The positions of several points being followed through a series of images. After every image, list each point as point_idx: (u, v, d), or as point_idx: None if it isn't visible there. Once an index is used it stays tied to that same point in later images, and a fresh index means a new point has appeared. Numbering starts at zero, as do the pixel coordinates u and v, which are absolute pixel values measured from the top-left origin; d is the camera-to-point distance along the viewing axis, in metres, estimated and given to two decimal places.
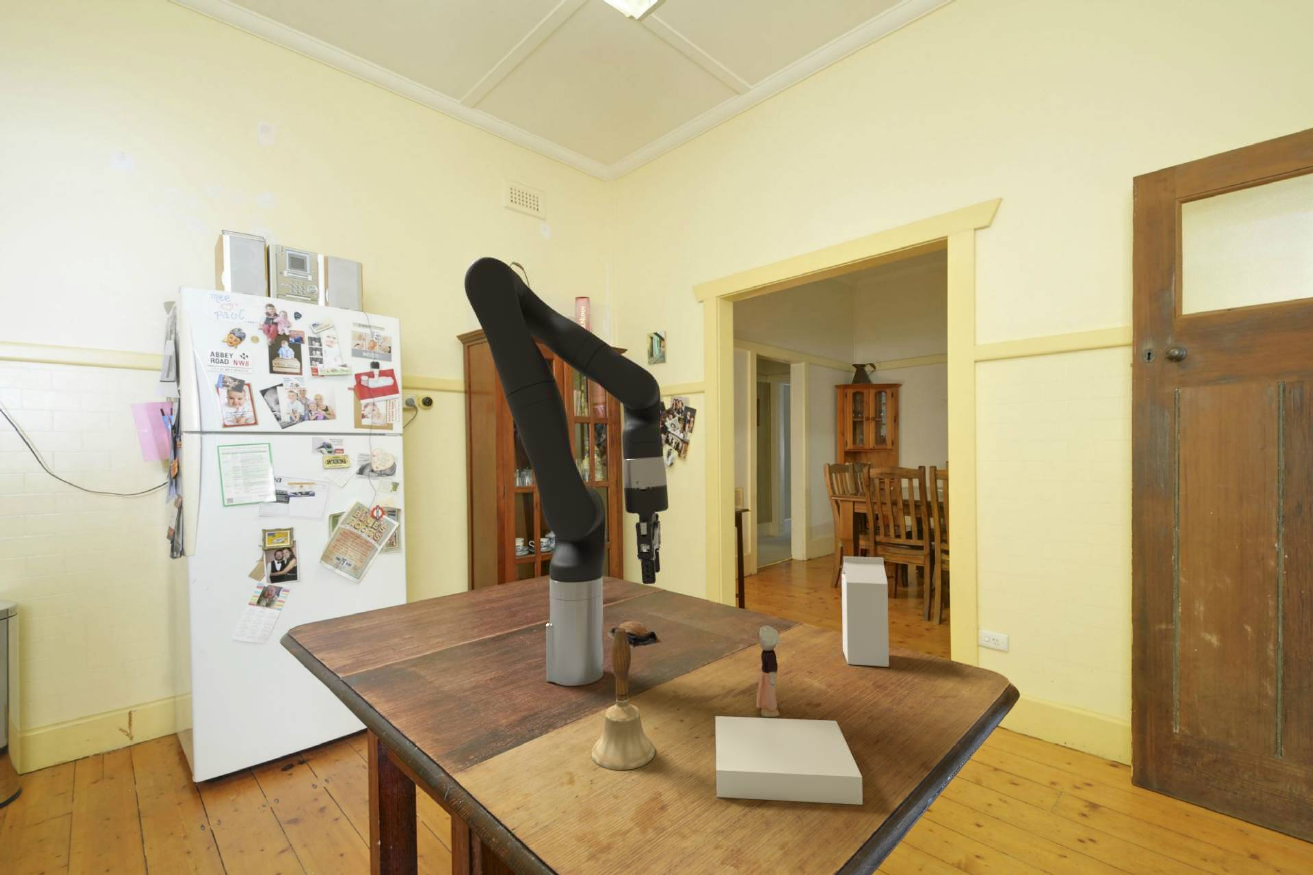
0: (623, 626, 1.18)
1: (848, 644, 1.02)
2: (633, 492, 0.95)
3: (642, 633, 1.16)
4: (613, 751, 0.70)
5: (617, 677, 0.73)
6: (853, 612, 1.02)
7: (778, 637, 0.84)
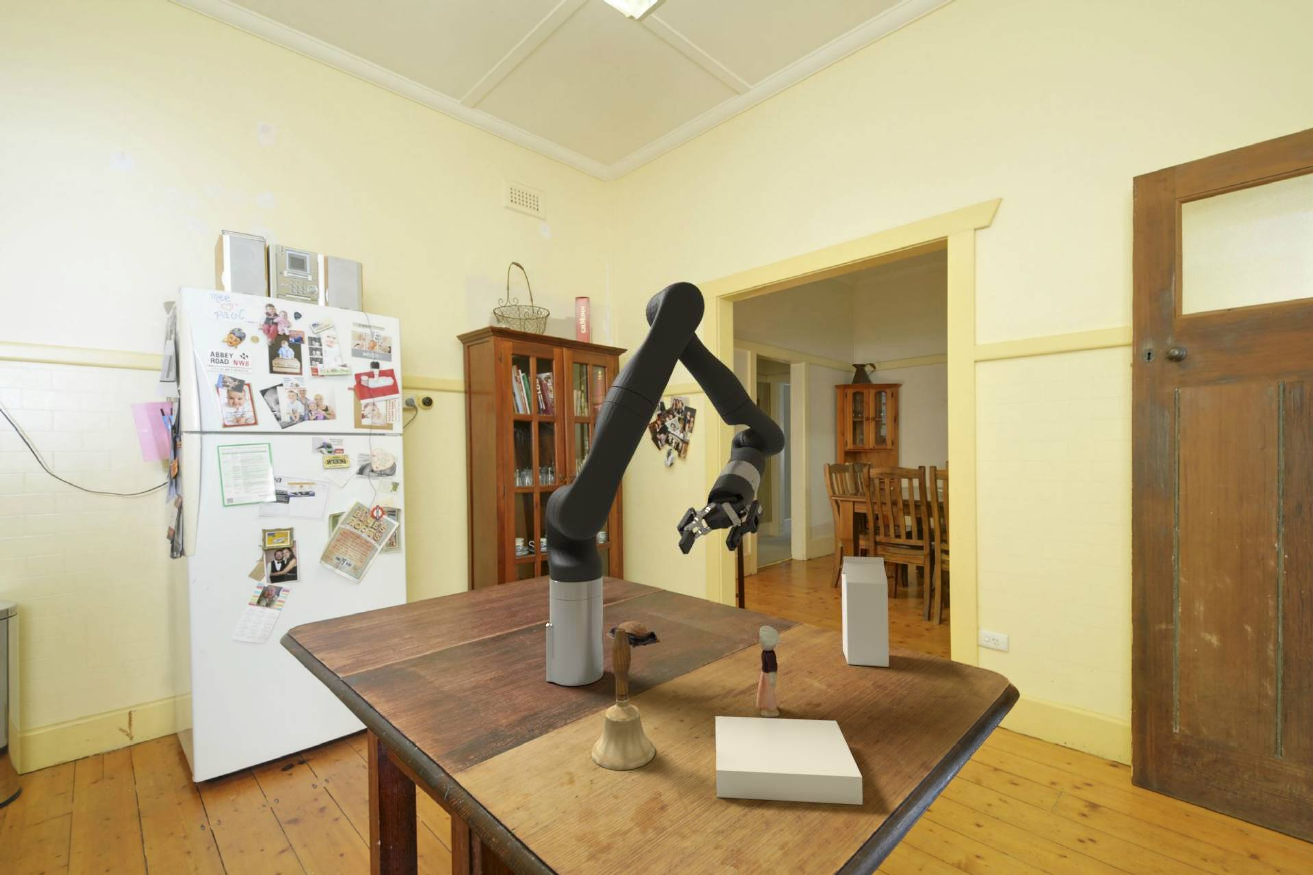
0: (622, 626, 1.18)
1: (848, 644, 1.02)
2: (746, 483, 0.99)
3: (642, 633, 1.16)
4: (613, 751, 0.70)
5: (617, 677, 0.73)
6: (853, 612, 1.02)
7: (778, 637, 0.84)
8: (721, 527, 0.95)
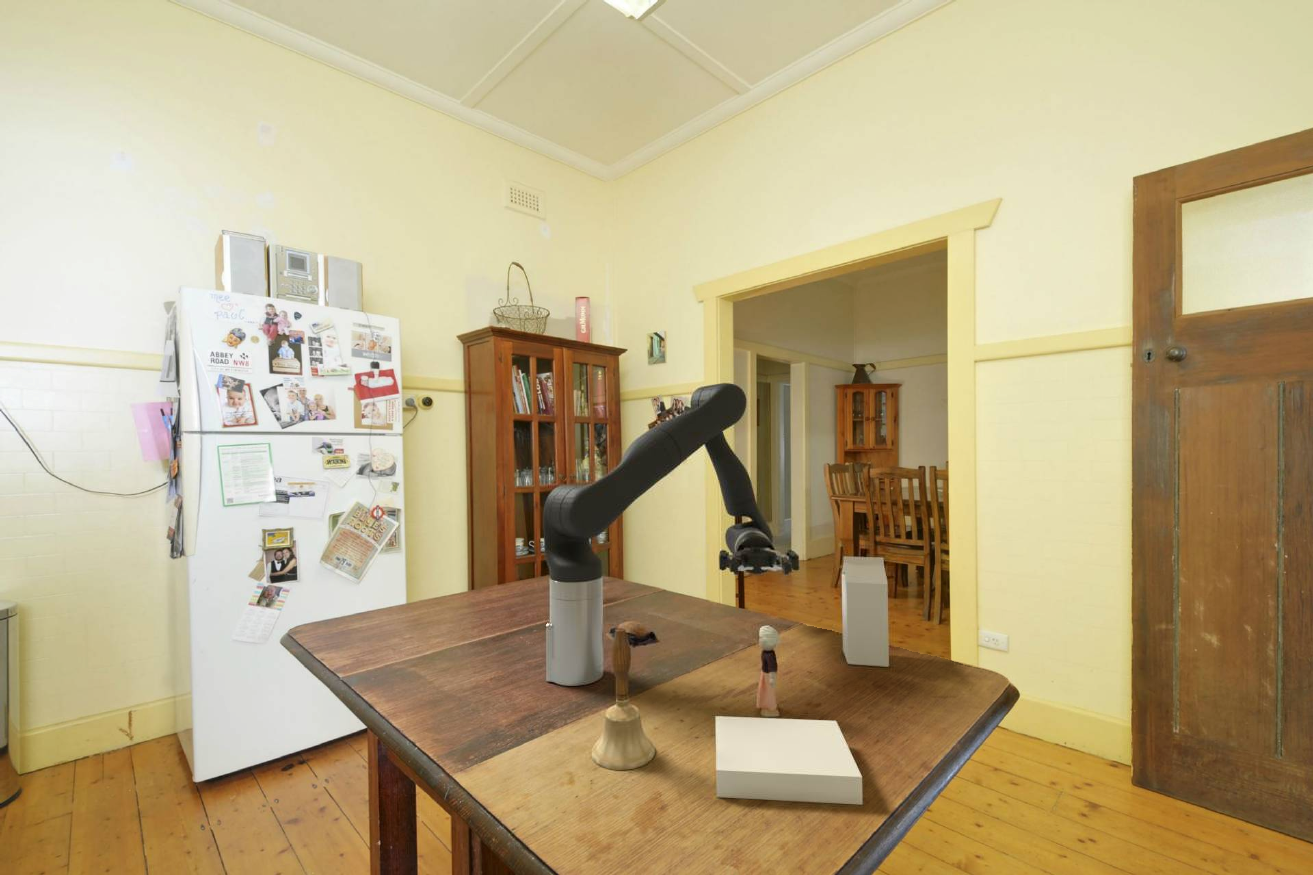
0: (622, 626, 1.18)
1: (848, 644, 1.02)
2: None
3: (641, 633, 1.16)
4: (613, 751, 0.70)
5: (617, 677, 0.73)
6: (853, 612, 1.02)
7: (778, 637, 0.84)
8: (760, 565, 1.03)
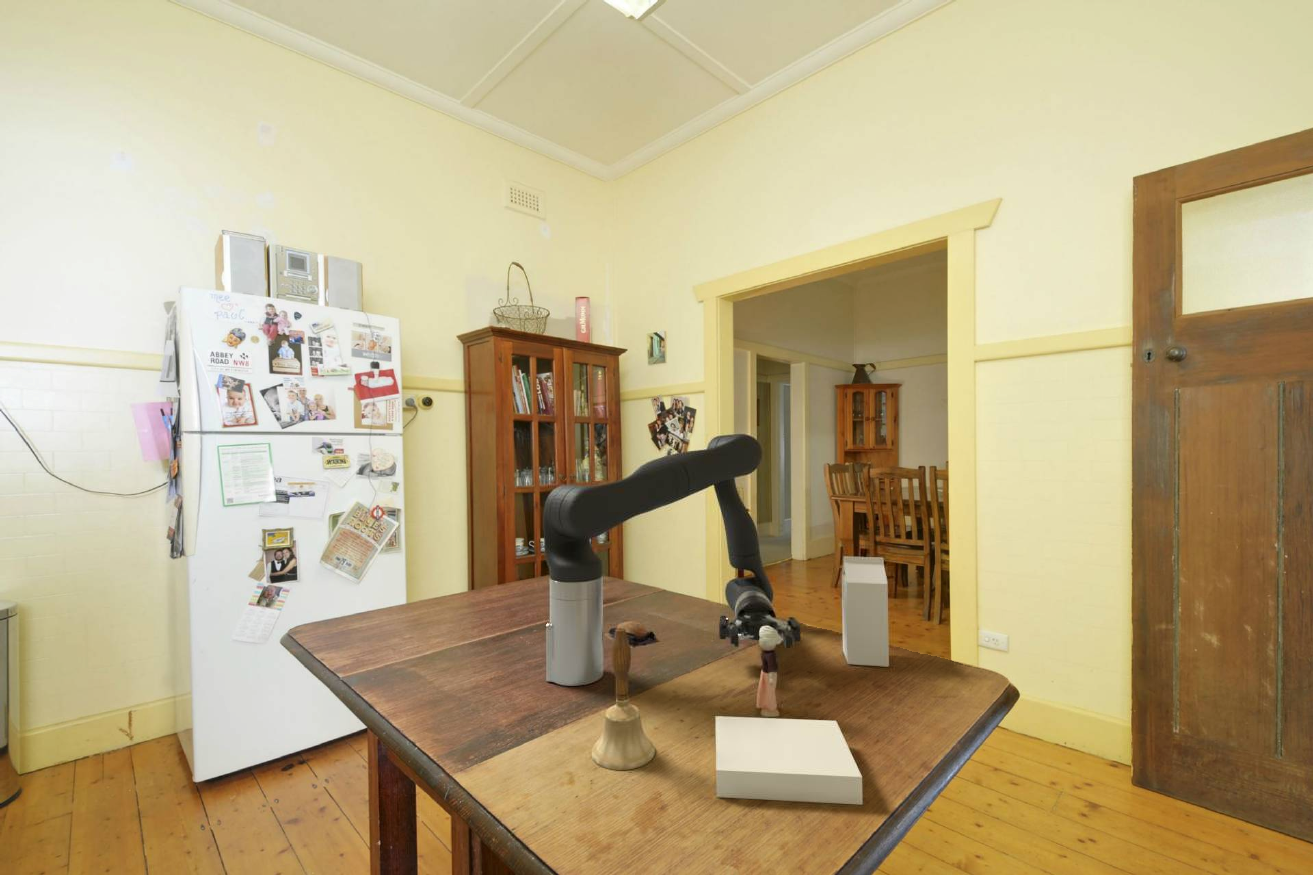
0: (621, 626, 1.18)
1: (848, 644, 1.02)
2: (772, 607, 1.09)
3: (641, 633, 1.16)
4: (613, 751, 0.70)
5: (617, 677, 0.73)
6: (853, 612, 1.02)
7: (778, 637, 0.84)
8: None
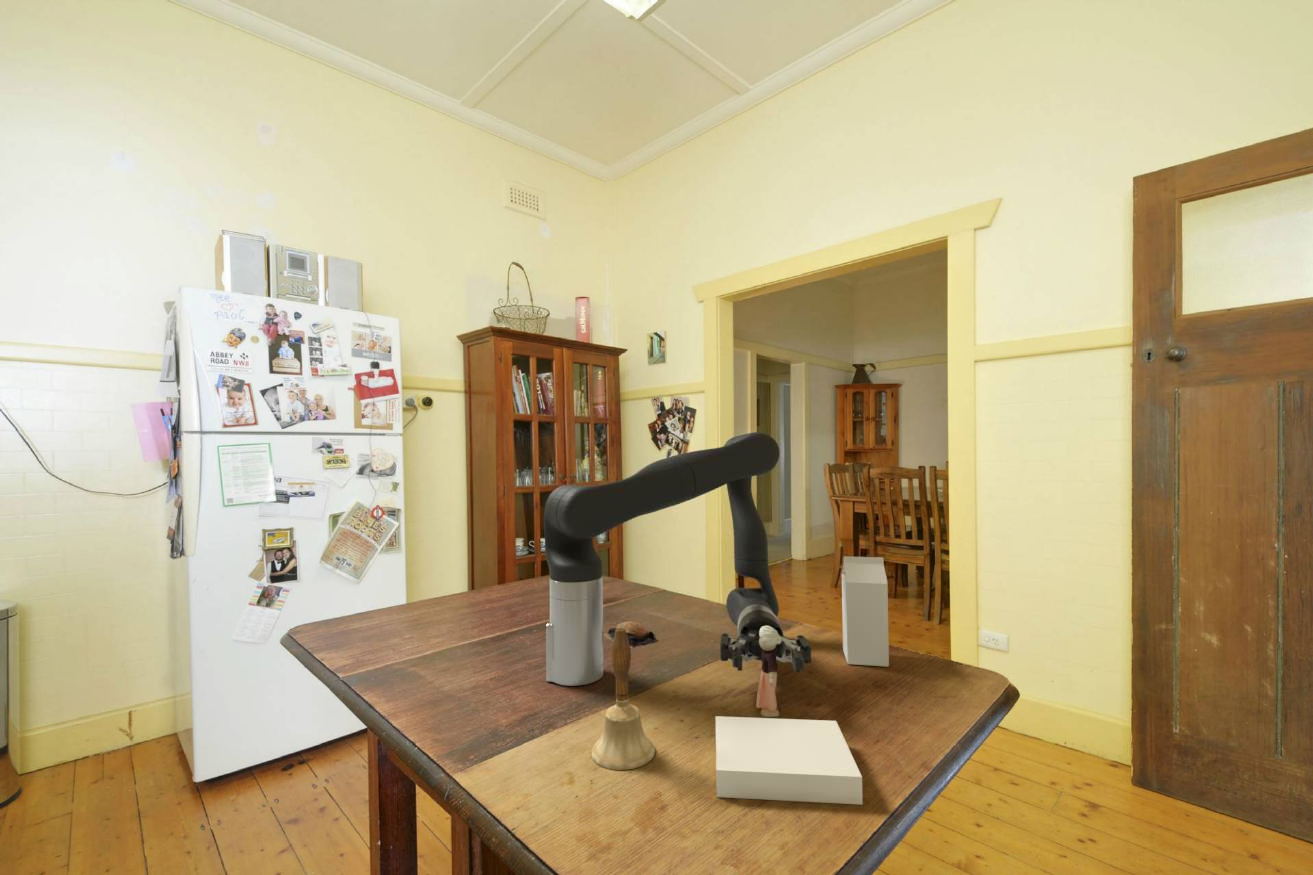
0: (620, 626, 1.18)
1: (848, 644, 1.02)
2: (778, 623, 0.99)
3: (640, 633, 1.16)
4: (613, 751, 0.70)
5: (617, 677, 0.73)
6: (853, 612, 1.02)
7: (778, 637, 0.84)
8: None
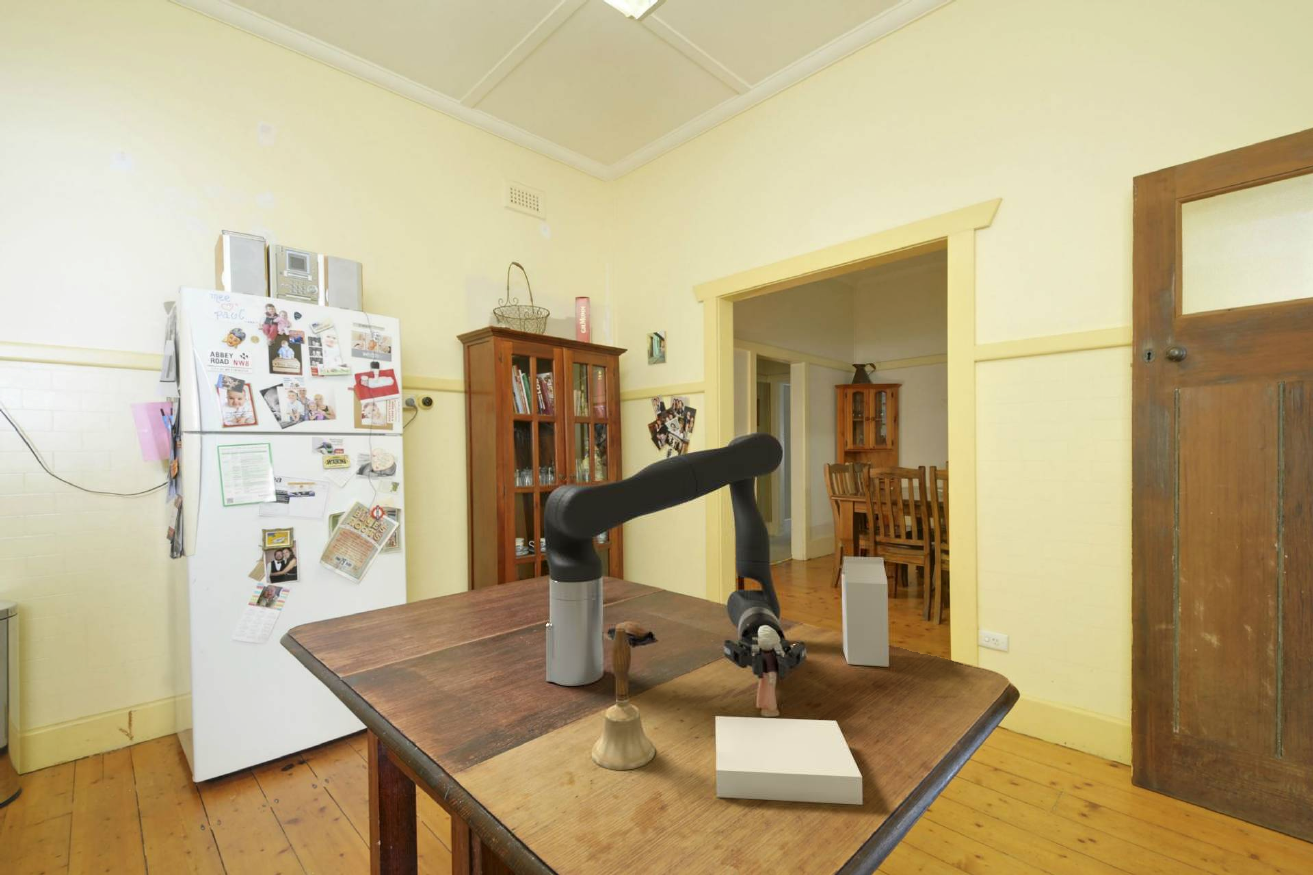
0: (620, 626, 1.18)
1: (848, 644, 1.02)
2: (780, 626, 0.97)
3: (640, 633, 1.16)
4: (613, 751, 0.70)
5: (617, 677, 0.73)
6: (853, 612, 1.02)
7: (777, 637, 0.84)
8: None
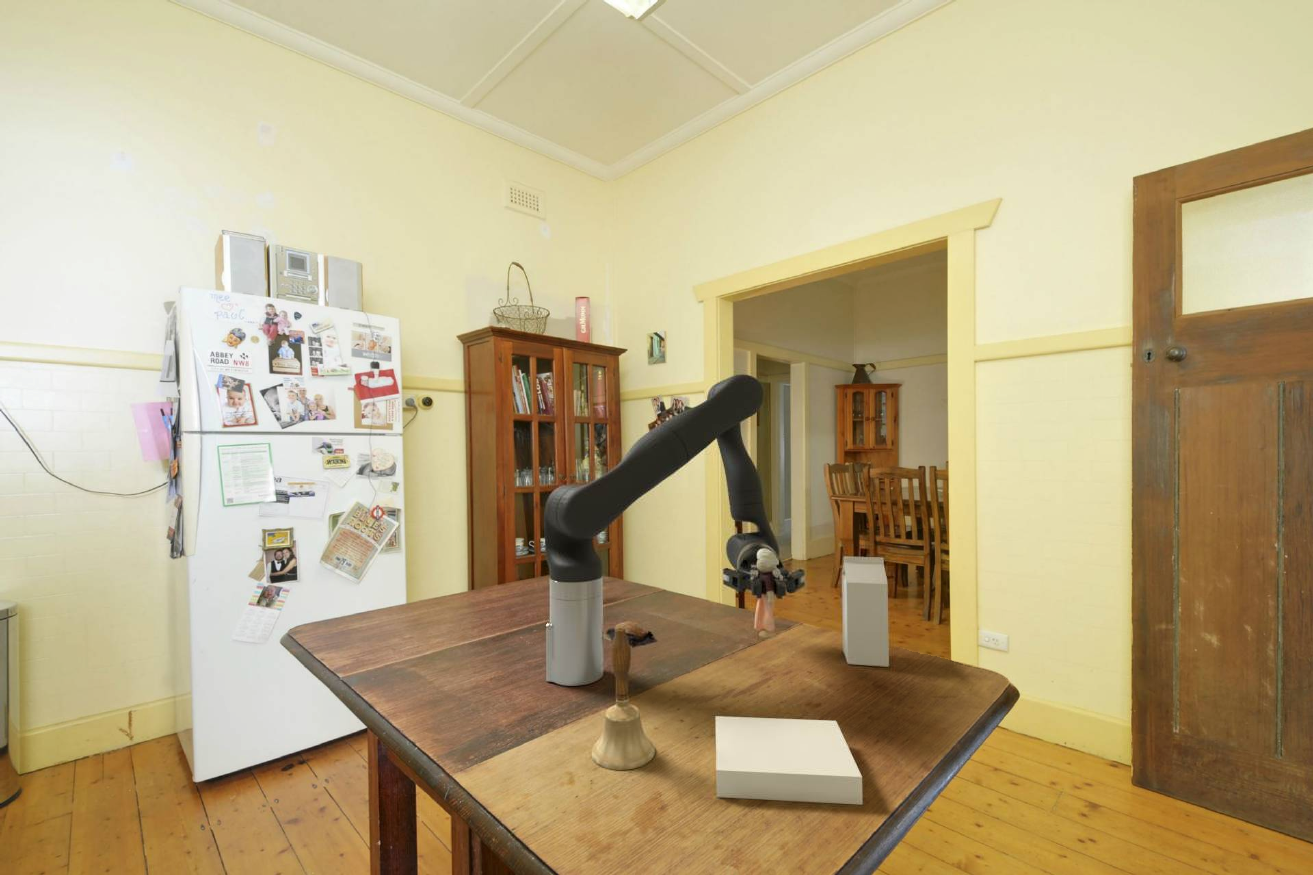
0: (619, 627, 1.18)
1: (848, 644, 1.02)
2: None
3: (639, 633, 1.16)
4: (613, 751, 0.70)
5: (617, 677, 0.73)
6: (853, 612, 1.02)
7: (776, 558, 0.84)
8: None
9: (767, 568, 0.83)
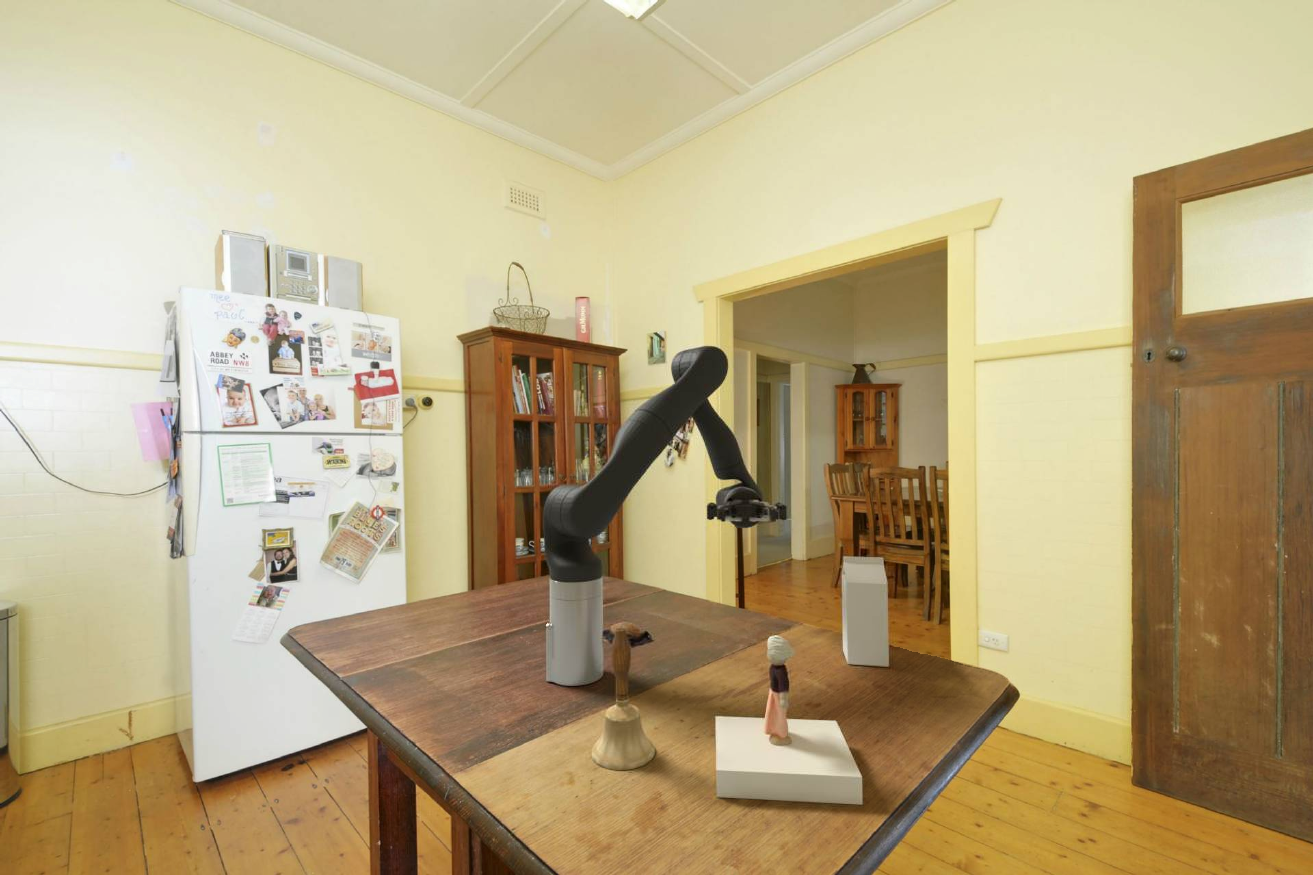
0: (615, 628, 1.17)
1: (848, 644, 1.02)
2: None
3: (636, 633, 1.16)
4: (613, 751, 0.70)
5: (617, 677, 0.73)
6: (853, 612, 1.02)
7: (790, 649, 0.70)
8: (748, 515, 1.02)
9: (780, 661, 0.70)
